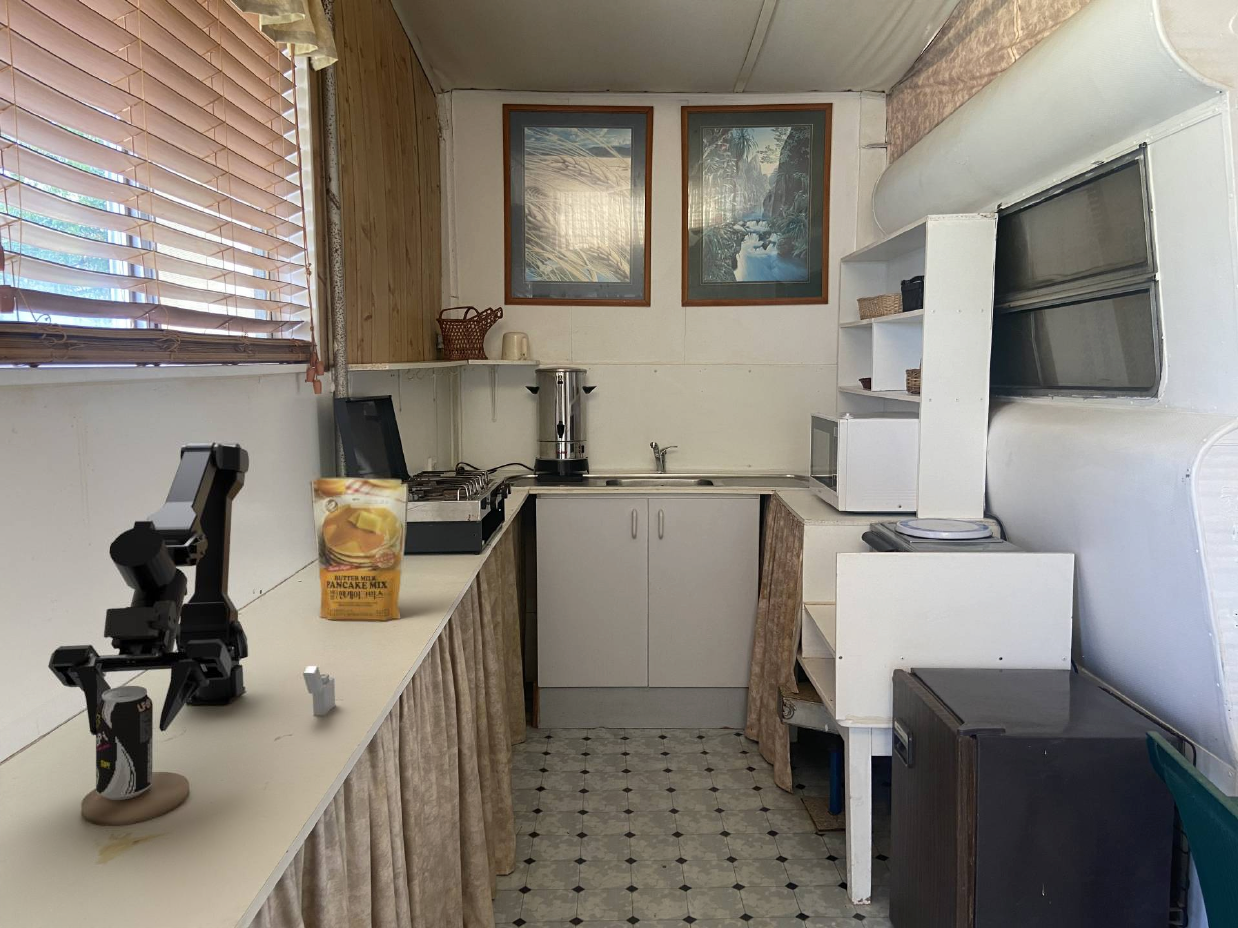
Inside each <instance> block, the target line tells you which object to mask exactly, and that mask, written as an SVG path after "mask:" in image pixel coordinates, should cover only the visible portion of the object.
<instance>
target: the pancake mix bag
mask: <svg viewBox="0 0 1238 928" xmlns="http://www.w3.org/2000/svg"><path fill="white" fill-rule="evenodd" d="M309 484H310V491H311V493H310V494H311V506H312V511H313V523H314V524H313V526H314V537H315V538H314V539H315V545H316V553H317V557H318V558H317V561H318V571H319V580H320V588H321V589H320V591H321V593H320V595H321V596H320V609H319V618H324V619H327V620H328V621H344V622H372V621H379V622H388V621H392V620H397V619H401V614H400V608H399V605H398V604H399V599H400V591H401V584H402V571H403V563H404V556H405V547H406V543H405V542H406V536H407V526H408V523H407V521H408V520H407V519H408V504H409V498H410V497H409V486H408V483H403V481H402V479H401V478H364V477H317V478H316V479H313V480H311V481H309Z"/></svg>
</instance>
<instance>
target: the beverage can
mask: <svg viewBox="0 0 1238 928" xmlns="http://www.w3.org/2000/svg"><path fill="white" fill-rule="evenodd" d="M147 693H148V690H147V688H145V687H143V686H140V685H123V686H118V687H114V688H111V689H110V690H107V691H105V692H104V693H103V694H102V700H101V702H100V703H99V704H98V706H97V708H96V735H95V789H96V792H97V793H98V794H99V795H100V796H102V797H106V798H107V799H111V800H124V799H129V798H133V797H136V796H138V795H140V794H141V793H142V792H144V791H145V790H147V789H148V788H149V787H150V786H151V784H152V772H153V746H154V745H153V740H154V739H153V738H154V737H153V732H154V731H153V730H154V729H153V726H154V725H153V722H154V721H153V718H154V717H153V716H154V715H153V714H154V713H153V711H154V710H153V709H154V708H153V707H154V706H153V705H154V704H153V701H152V699H151V697H150V696H149V695H148V694H147Z"/></svg>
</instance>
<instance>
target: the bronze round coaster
mask: <svg viewBox="0 0 1238 928" xmlns="http://www.w3.org/2000/svg"><path fill="white" fill-rule="evenodd" d="M189 794H190V782H189V779H187V777H185V776H183V775H182V774H178V773H174V772H171V771H169V772H168V771H152V784H151V786H150V787H149V788H148V789H147V790H145V791H144V792H142V793H141V794H140V795H138V796H136V797H133V798H129V799H124V800H111V799H107V798H106V797H102V796H100V795H99V794H98V793H97V792H96V788H94V789H93V790H91V791H90V792H89V793H87V794H86V796H84V798H83V799H82V800H81V815H82V818H83V819H84V820H85V821H87V822H88V823H90V824H93V825H97V826H108V827H109V826H112V827H113V826H124V825H125V826H126V825H132V824H137V823H138V824H139V823H141V822H146V821H149V820H152V819H154V818H158V817H161V816H163V815H166V814H168V813H169V812H172V811H174V810H175V809H176V808H179V807H180V806H181V805H182V804H183V803H185V802H186V800H187V799H188V797H189V796H190V795H189Z"/></svg>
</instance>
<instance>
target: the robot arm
mask: <svg viewBox="0 0 1238 928" xmlns="http://www.w3.org/2000/svg"><path fill="white" fill-rule="evenodd" d="M179 458H180V462H179V465H178V467H177V470H176V472H175V476H174V478H173V480H172V483H171V486H170V488H169V492H168V493H167V497H166V499H165V502H164V505H163V506H162V507H161V508H159V509H158V510H157V511H155V512H153V513H152V514H150V515H149V516H147V518H146V520H135V521H134V524H133V528H130V529H127V530H124V532H121V534H119V535H118V536H117V537H116V538H115V539H114V540H113V541H112V542H110V546H109V552H108V553H109V556H110V558H111V560H112V562H113V564H114V565H115V567H116V568H117V570H118V572H119V574H120V575H121V577H122V578H123V580H124V582H125V583H126V585H127V587H129V588H131V589H133V590H134V591H133V595H132V599H131V603H130V605H129V606H125V607H116V608H115V607H113V608H107V609H106V610H105V611H106V613H105V623H104V631H103V637H104V638H105V639H106V638H108V639H109V638H110V639H112V640H111V643H110V646H112V647H113V649H114V650H117V649H118V650H119V651H118V654H109V655H108V654H107V655H106V654H105V655H100V654H99V653H98V652H97V650H96V649H95V648H94V647H93V644H82V645H80V644H79V645H61V646H58V647H57V648H56V649H55V650H54V651H53V652H52V653H51V656H50V659H49V661H48V665H47V667H48V668H49V670H51V672H52V673H53V674H54V675H55V677H56V678H57V679H58V680H59V681H60V683H61V684H62V685H63V686H65V687H67V688H80V690H81V691H82V692H83V693H84V697H85V703H86V712H87V717H88V724H89V725H88V726H89V732H90V734H91V735H92V736H96V708H97V706H98V704H99V703H100V702H101V700H102V694H103V693H104V692H105V691H107V690H110V689H112V687H111V686H110V685H109V683H108V682H107V681H106V680H105V678H106V677H107V673H111V672H112V673H115V672H133V671H134V672H135V671H152V670H153V671H155V670H170V681H169V686H168V688H167V692H166V695H165V699H164V703H163V706H162V710H161V713H160V718H159V719H160V720H159V725H158V727H159V730H160V731H161V732H166V730H167V729H168V728H169V727H170V725H171V724H172V723H173V721H174V720H175V718H176V717H177V715H178V714H179V712H180V711H181V710H182V709H183V708H184V706H185V705H206V706H208V705H209V706H210V705H213V706H214V705H215V706H216V705H217V706H218V705H221V706H223V705H230V703H232V702H233V701H235V699H237V698H238V697H239V696H240V695H241V694H242V693H244V691H246V686H244V668H243V665H242V664H240V661H241V660H242V659H246V658H248V657H249V647H248V646H249V645H248V637H247V635H246V633H245V630H244V628H243V626H242V624H241V622H240V621H239V612H238V610H237V608H236V606H235V604H234V602H233V601H232V600H231V598H230V596H229V594H228V592H229V572H230V571H229V570H230V551H231V550H230V549H231V531H232V515H233V514H232V511H233V510H232V509H233V501H234V499H235V498H236V497H237V495H238V494H239V493H240V491H241V490H242V488H243V487H244V485H245V479H246V478H245V477H246V473H248V471H249V469H250V468H249V467H250V457H249V453H248V451H247V450H246V449H244V448H242V447H241V445H240V443H226V442H225V443H216V442H213V441H212V442H209V441H208V442H207V441H206V442H205V441H204V442H188V443H186V444H182V446H181V448H180V457H179ZM193 566H194V567H195V577H194V578H195V579H194V593H193V594H192V595H191V597H190V599H189V600H188V601H187V602H186V603H185V602H184V600H185V596H187V595H188V577H187V576H186V574H185V573H184V572H183V571H182V570H181V569H180V568H181V567H183V568H184V567H193ZM178 567H180V568H178ZM175 645H176V650H177V651H174V647H175Z"/></svg>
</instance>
